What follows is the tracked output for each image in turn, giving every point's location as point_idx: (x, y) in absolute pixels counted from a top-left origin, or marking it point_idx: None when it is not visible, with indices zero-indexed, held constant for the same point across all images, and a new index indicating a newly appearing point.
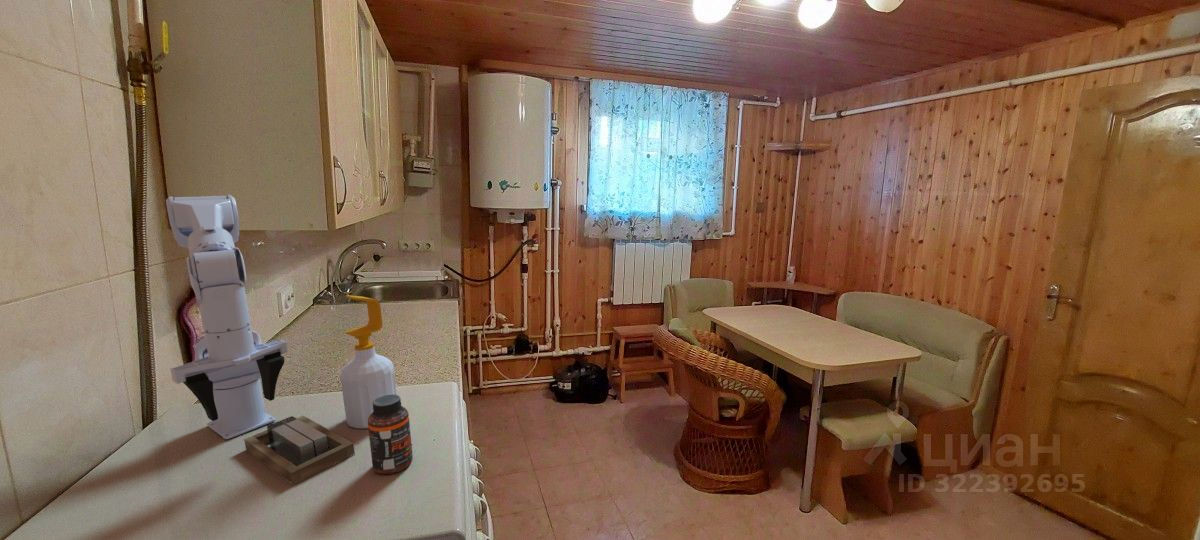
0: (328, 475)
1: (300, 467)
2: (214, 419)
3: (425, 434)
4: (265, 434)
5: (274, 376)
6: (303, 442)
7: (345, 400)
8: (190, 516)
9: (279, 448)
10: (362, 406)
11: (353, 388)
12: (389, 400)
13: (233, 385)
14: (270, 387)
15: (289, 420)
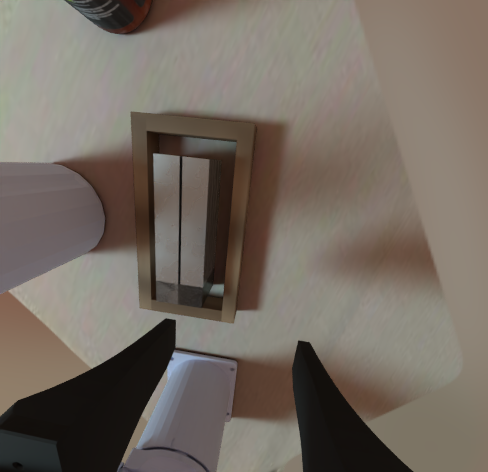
0: (208, 93)
1: (235, 125)
2: (306, 343)
3: (21, 38)
4: (206, 307)
5: (110, 368)
6: (195, 172)
7: (58, 237)
8: (379, 203)
9: (212, 253)
10: (46, 189)
11: (2, 212)
12: None
13: (185, 462)
14: (150, 343)
15: (167, 289)
